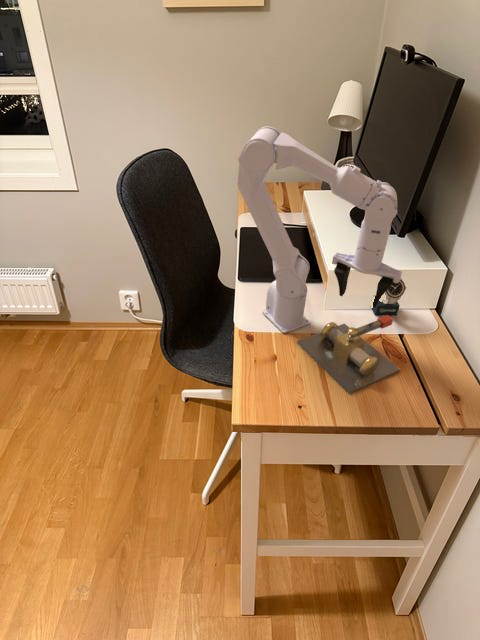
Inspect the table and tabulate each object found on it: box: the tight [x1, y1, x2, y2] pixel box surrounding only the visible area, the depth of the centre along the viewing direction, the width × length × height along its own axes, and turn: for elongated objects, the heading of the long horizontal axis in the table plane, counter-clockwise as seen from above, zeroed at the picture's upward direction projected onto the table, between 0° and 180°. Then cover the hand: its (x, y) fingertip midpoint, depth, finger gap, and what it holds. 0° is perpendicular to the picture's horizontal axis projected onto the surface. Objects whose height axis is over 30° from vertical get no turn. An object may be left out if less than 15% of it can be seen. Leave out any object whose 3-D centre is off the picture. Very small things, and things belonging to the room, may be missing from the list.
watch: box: [371, 277, 407, 317], centre depth 111 cm, size 6×8×11 cm
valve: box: [296, 321, 401, 395], centre depth 99 cm, size 18×14×5 cm
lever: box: [348, 315, 394, 342], centre depth 98 cm, size 12×2×2 cm, turn 120°
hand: (358, 299), depth 101 cm, fingers open, 7 cm apart
